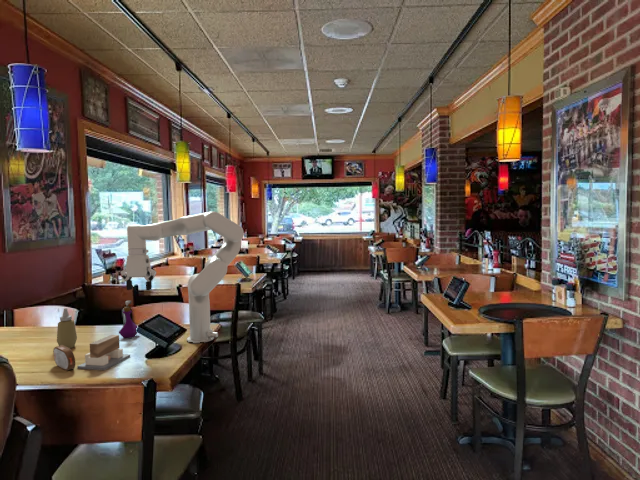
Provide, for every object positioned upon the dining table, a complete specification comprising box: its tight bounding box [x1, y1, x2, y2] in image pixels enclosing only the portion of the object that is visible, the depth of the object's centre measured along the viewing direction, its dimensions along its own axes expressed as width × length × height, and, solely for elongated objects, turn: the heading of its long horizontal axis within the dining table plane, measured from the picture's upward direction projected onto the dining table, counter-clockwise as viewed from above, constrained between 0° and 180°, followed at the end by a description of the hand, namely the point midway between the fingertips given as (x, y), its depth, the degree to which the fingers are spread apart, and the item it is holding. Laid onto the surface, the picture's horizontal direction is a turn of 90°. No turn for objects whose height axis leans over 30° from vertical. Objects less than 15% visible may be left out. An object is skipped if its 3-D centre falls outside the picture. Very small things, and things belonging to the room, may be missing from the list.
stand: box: [76, 348, 131, 371], centre depth 178 cm, size 12×16×5 cm
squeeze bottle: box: [56, 308, 78, 349], centre depth 199 cm, size 8×8×18 cm
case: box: [89, 334, 121, 358], centre depth 178 cm, size 4×13×6 cm, turn 168°
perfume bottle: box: [118, 300, 138, 339], centre depth 215 cm, size 8×8×18 cm
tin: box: [53, 345, 76, 371], centre depth 172 cm, size 15×3×8 cm, turn 51°
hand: (139, 289), depth 197 cm, fingers open, 9 cm apart
